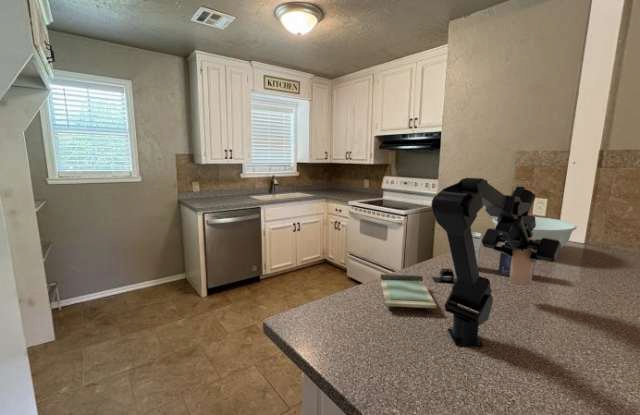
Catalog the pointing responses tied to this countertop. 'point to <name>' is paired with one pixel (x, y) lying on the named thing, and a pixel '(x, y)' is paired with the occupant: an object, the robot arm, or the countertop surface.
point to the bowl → (551, 229)
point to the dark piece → (445, 279)
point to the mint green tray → (406, 292)
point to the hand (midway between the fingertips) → (524, 258)
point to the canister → (521, 266)
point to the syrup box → (477, 244)
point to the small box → (506, 265)
